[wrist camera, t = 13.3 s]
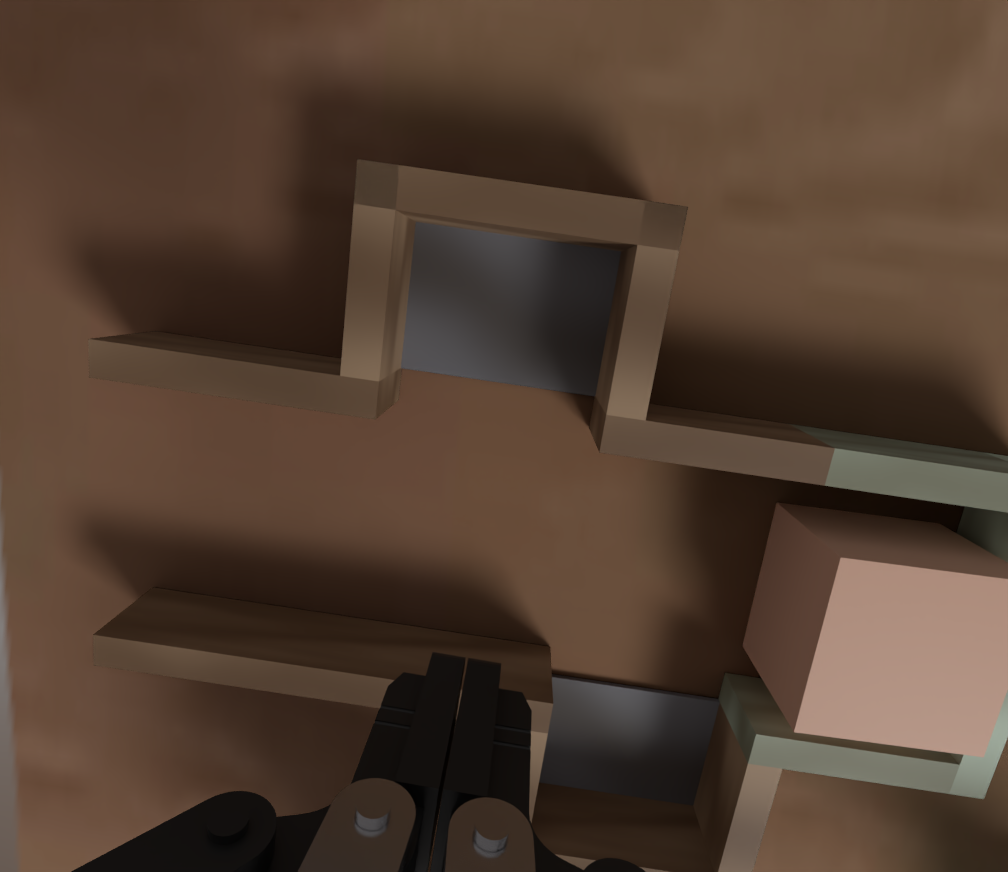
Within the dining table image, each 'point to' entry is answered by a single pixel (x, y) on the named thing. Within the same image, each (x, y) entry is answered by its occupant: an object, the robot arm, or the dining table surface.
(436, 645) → the box
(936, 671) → the block
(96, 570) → the dining table surface
